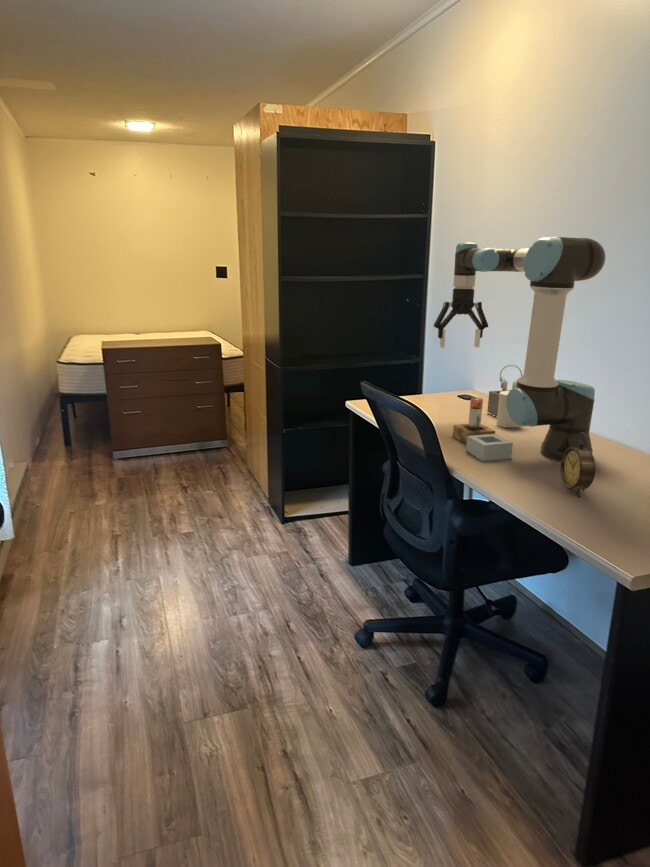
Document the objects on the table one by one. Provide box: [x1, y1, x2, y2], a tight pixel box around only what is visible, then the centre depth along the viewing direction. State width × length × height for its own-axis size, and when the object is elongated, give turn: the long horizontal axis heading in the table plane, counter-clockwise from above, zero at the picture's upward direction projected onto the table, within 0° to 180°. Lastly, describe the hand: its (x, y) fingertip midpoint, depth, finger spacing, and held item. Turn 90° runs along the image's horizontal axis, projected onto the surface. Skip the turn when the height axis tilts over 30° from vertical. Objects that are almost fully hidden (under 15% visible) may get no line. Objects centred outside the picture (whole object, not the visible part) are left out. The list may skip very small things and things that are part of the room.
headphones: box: [499, 364, 523, 391], centre depth 230 cm, size 8×4×20 cm, turn 71°
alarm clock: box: [559, 432, 597, 498], centre depth 154 cm, size 11×5×16 cm, turn 3°
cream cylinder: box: [496, 390, 520, 428], centre depth 217 cm, size 8×8×12 cm
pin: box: [467, 397, 484, 431], centre depth 199 cm, size 4×4×14 cm
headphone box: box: [487, 389, 511, 416], centre depth 232 cm, size 8×12×9 cm
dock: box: [465, 433, 514, 462], centre depth 184 cm, size 10×10×5 cm
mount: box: [452, 423, 496, 445], centre depth 200 cm, size 10×10×4 cm
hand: (459, 347), depth 218 cm, fingers open, 13 cm apart
